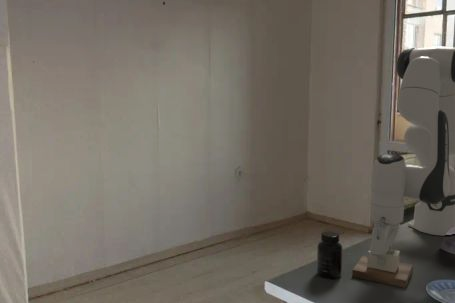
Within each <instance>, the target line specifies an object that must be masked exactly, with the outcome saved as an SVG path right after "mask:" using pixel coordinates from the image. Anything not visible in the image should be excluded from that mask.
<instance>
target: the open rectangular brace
mask: <svg viewBox="0 0 455 303" xmlns="http://www.w3.org/2000/svg"><path fill="white" fill-rule="evenodd" d="M387 253H388V254H386V255H385V265H384V266H379V265H378V264H377V260H378V259H377V256H375V255H372V254H371V247H370V248H369V249H368V251H367V256H368V260H367V267H369V268H374V269H379V270H384V271H389V272H394V273H396V271H397V269H398V267H399V262H400V254H401V252H400V250H397V249H388V251H387ZM391 254H392V255H391Z"/></svg>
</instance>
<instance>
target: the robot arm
mask: <svg viewBox="0 0 455 303" xmlns="http://www.w3.org/2000/svg"><path fill="white" fill-rule="evenodd" d="M395 67H396V74H397V76H398V77H399V78H400V79H401V83H400V87H399V91H398V96H397V101H396V102H397V104H396V106H397V107H396V108H397V110H398V113H399V114H400V116H401V117H402V118H404V120H405V121H407V122H408V123H410V125H409V126H408V127H407V128H406V130H405V133H404V136H403V140H404V143H405V146H406V147H407V149H408V150H410V151H411V153H413V154H414V155H415V157H416V158H417V160H418V161H419V163H420V165H419V164H418V165H417V164H412V163H411V164H410V163H407V162H406V161H405V157H403V155H400V154H397V153H385V154H384V153H383V154H380V155H378V156H377V157H376V158H375V160H374V163H373V166H372V167H373V168H372V172H371V173H372V174H371V182H370V183H371V184H370V187H371V191H372V193H371V197H370V202H369V215H368V216H369V219H370V220H372V221H373V225H374V226H373V228H372V232H371V241H370V248H371V254H372V255H375V256H377V259H378V260H377V264H378V265H379V266H384V265H385V255H386V253H387V251H388V249H391V248H392V245H393V243H394V241H395V240H396V238H397V236H398V233H399V228H400V224H401V223H403V222H404V214H405V200H404V198H405V199H411V200H417V201H419V202H418V203H416V204H415V205H414V213H413V220H411V221H409V222H408V224H407V226H408V227H410V228H413V229H414V230H416V231H418V232H422V233H424V234H428V235H434V236H441V237H442V236H443V237H446V236H445V235H446V233H447V232H448V231H449V230H450V229H451V228H453V227H455V169H454V168H453V167H452V166H450V164H449V163H450V162H449V160H450V159H449V158H450V156H454V157H455V46H443V45H442V46H440V45H438V46H436V45H435V46H429V47H419V48H415V47H410V48H406V49H403V50H402V52H400V53H399V55H398V57H397V60H396V66H395Z"/></svg>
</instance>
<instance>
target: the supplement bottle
mask: <svg viewBox="0 0 455 303" xmlns="http://www.w3.org/2000/svg"><path fill="white" fill-rule="evenodd" d="M316 247H317V248H316V250H317V251H316V252H317V253H316V256H317V258H316V273H317V275H318V276H319V277H320V278H321V279H327V280H336V279H339V278H340V277H341V276H342V274H343V273H342V272H343V270H342V269H343V246H342V244H341V242H340V233H338V232H336V231H331V230H326V231H323V232H321V238H320V241H319V242H318V244H317V246H316Z"/></svg>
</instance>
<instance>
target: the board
mask: <svg viewBox="0 0 455 303" xmlns="http://www.w3.org/2000/svg"><path fill="white" fill-rule="evenodd" d="M367 260H368V255H361V258H360V259H359V260H358V262H357V263H356V265H355V266H354V267H353V268H352V277H353V278H357V279H362V280H367V281H370V282H377V283H380V284H385V285H390V286H393V287H394V286H395V287H400V288H404V289H405V288H407V285H408V283H409V281H410V278H411V276H412V273H413V266H414V265H413V264H410V263H403V262H400V261H399V267H398V269H397V271H396V273H394V272H389V271H384V270H379V269H374V268H369V267H367Z"/></svg>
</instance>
